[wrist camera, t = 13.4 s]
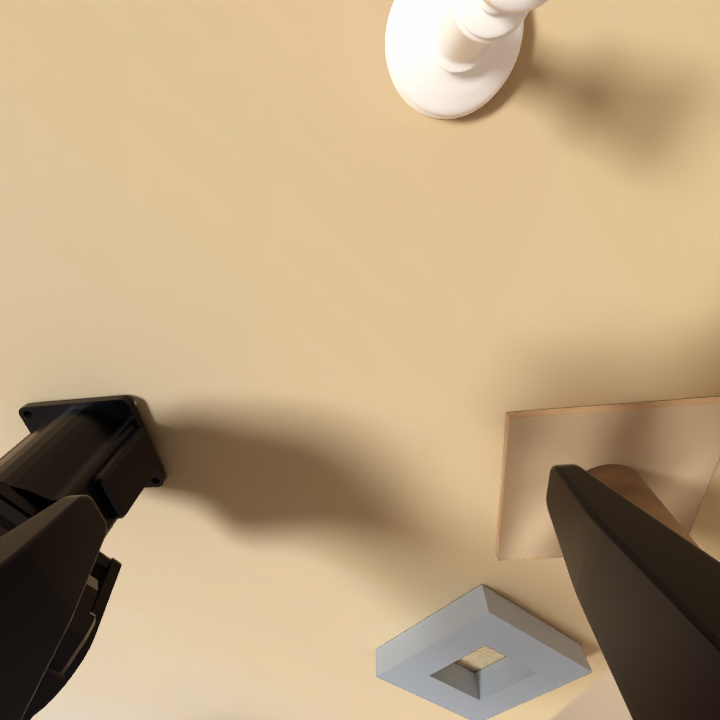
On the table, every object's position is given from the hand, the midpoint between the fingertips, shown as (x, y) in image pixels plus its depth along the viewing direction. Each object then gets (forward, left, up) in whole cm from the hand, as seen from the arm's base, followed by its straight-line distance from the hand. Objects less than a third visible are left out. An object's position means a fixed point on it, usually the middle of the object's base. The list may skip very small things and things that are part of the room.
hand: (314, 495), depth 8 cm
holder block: (+7, -32, -13) cm, 35 cm away
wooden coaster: (+14, -14, -13) cm, 24 cm away
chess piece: (+5, +9, -13) cm, 17 cm away
